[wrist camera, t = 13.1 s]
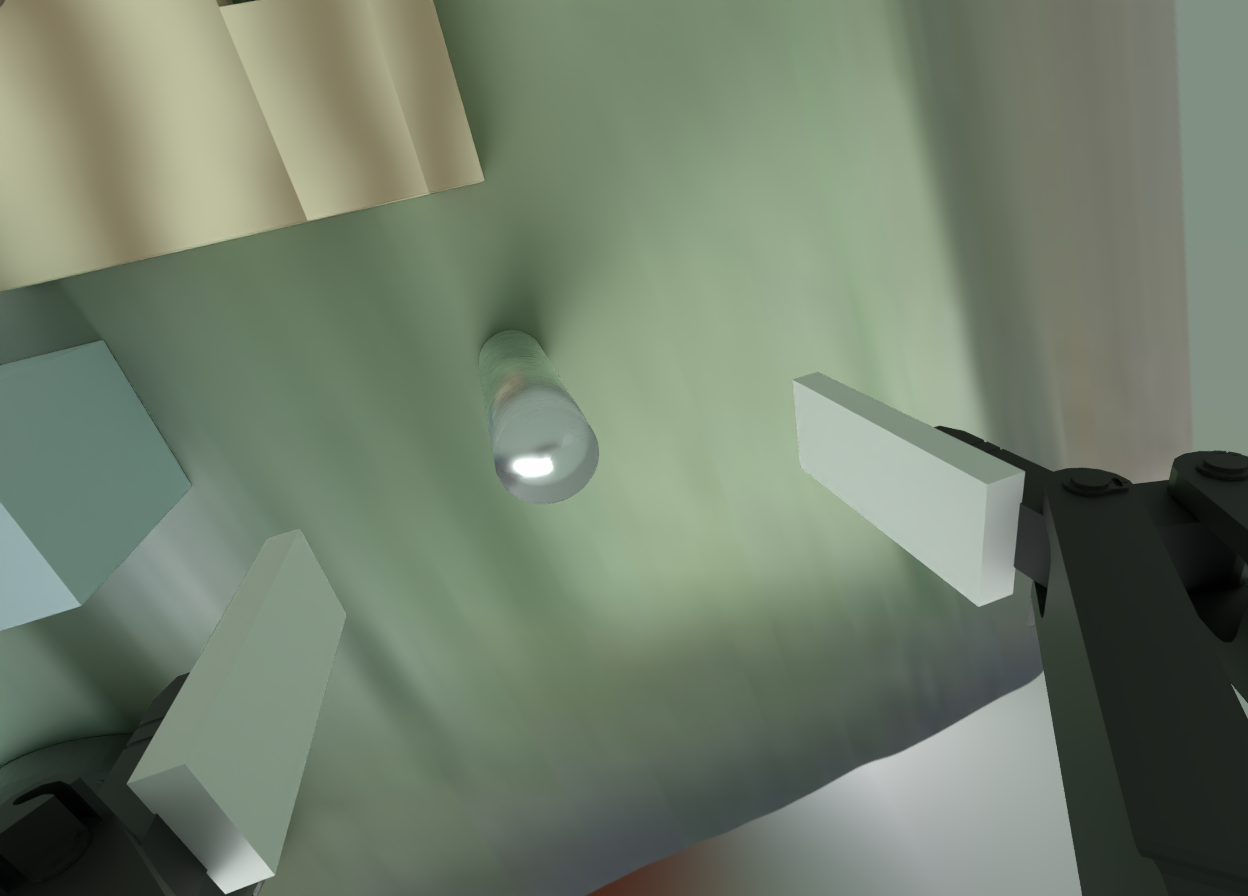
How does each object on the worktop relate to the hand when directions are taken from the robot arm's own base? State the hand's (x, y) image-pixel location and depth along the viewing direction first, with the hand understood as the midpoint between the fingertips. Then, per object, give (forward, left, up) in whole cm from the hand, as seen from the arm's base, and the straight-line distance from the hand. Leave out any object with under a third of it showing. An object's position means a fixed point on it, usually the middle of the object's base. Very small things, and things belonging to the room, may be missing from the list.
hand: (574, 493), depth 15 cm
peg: (0, 0, -15) cm, 15 cm away
